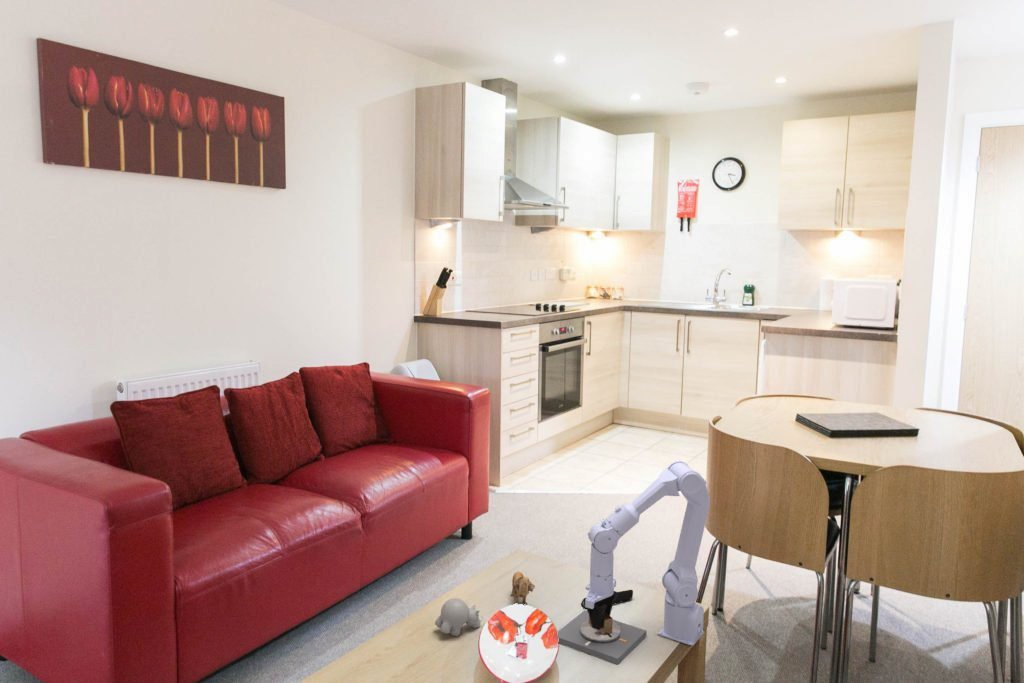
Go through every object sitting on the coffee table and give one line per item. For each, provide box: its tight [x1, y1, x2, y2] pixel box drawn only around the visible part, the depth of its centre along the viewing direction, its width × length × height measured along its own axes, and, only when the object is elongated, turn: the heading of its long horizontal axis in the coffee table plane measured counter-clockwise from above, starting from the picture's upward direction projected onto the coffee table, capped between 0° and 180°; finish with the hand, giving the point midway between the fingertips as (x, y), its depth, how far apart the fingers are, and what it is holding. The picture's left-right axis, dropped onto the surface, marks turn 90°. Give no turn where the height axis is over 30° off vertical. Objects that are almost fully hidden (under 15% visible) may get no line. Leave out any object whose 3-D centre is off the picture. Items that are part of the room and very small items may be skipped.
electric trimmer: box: [580, 589, 634, 610], centre depth 202 cm, size 4×16×3 cm, turn 112°
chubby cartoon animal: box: [434, 597, 484, 637], centre depth 186 cm, size 7×12×8 cm, turn 114°
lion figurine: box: [510, 571, 536, 605], centre depth 203 cm, size 15×5×9 cm, turn 16°
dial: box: [580, 612, 620, 642], centre depth 182 cm, size 10×10×5 cm
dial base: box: [557, 609, 648, 665], centre depth 183 cm, size 18×16×2 cm
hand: (600, 623), depth 183 cm, fingers closed on dial, 4 cm apart
